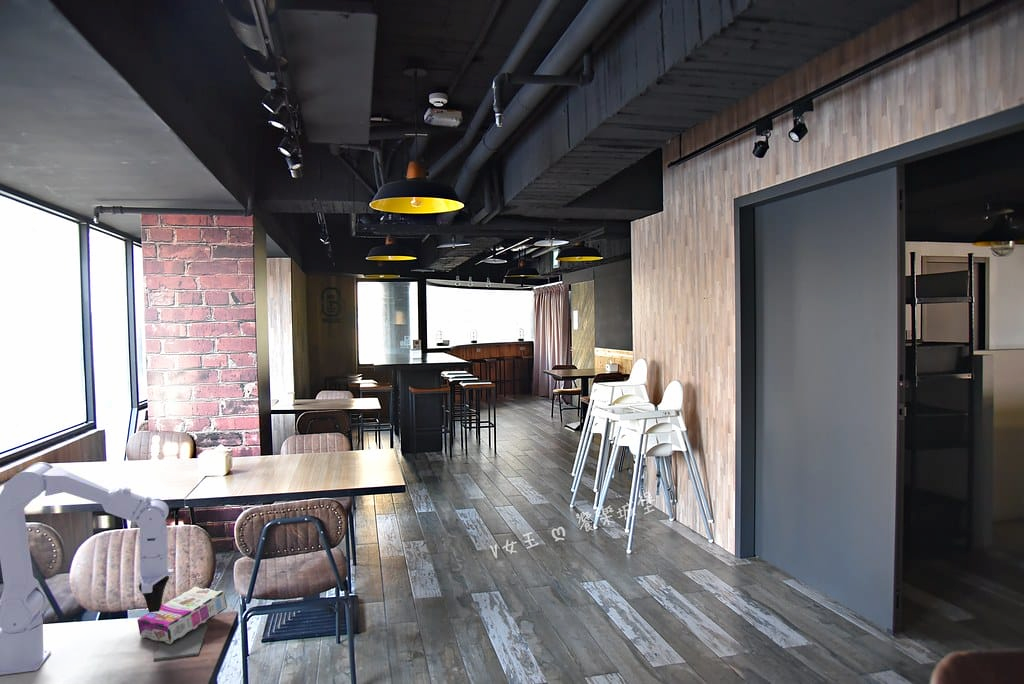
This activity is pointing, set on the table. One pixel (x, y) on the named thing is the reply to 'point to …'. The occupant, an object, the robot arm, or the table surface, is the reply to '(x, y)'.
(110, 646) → the table surface
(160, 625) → the candy bar box
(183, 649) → the mat
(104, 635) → the table surface
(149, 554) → the robot arm
